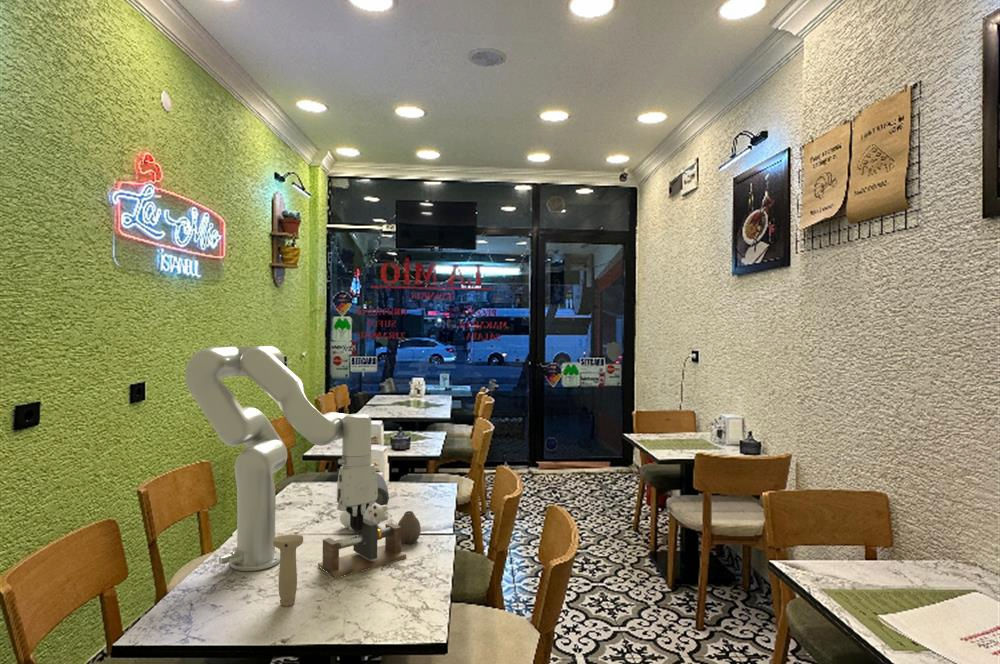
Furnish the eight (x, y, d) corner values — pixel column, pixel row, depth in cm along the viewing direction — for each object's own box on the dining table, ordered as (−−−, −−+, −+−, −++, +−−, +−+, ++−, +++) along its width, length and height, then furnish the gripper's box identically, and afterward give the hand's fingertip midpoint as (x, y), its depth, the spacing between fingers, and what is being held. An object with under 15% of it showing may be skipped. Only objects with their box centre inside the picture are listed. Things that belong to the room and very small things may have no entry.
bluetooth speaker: (359, 498, 225) (359, 471, 225) (384, 496, 228) (385, 470, 228) (362, 516, 203) (362, 486, 203) (390, 514, 206) (390, 485, 206)
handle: (275, 600, 140) (275, 535, 140) (304, 598, 141) (304, 534, 141) (270, 609, 135) (271, 542, 135) (300, 608, 136) (301, 541, 136)
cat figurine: (337, 499, 190) (385, 492, 192) (341, 506, 197) (387, 499, 199) (338, 530, 185) (387, 523, 187) (342, 536, 192) (390, 529, 194)
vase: (415, 546, 176) (416, 516, 175) (393, 544, 177) (393, 514, 177) (423, 538, 182) (423, 509, 182) (401, 536, 184) (402, 508, 184)
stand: (336, 578, 152) (336, 547, 152) (318, 566, 160) (318, 536, 160) (406, 557, 167) (406, 529, 167) (386, 548, 174) (386, 520, 174)
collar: (370, 559, 160) (370, 525, 160) (353, 550, 166) (353, 517, 166) (377, 558, 161) (377, 524, 161) (359, 548, 168) (360, 516, 168)
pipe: (335, 553, 156) (335, 541, 156) (329, 550, 158) (329, 539, 158) (394, 537, 168) (394, 527, 168) (388, 534, 170) (389, 524, 170)
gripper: (337, 467, 154) (337, 539, 154) (388, 459, 164) (388, 526, 164) (324, 462, 159) (324, 532, 159) (374, 454, 169) (373, 520, 169)
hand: (356, 529), depth 162 cm, fingers closed
